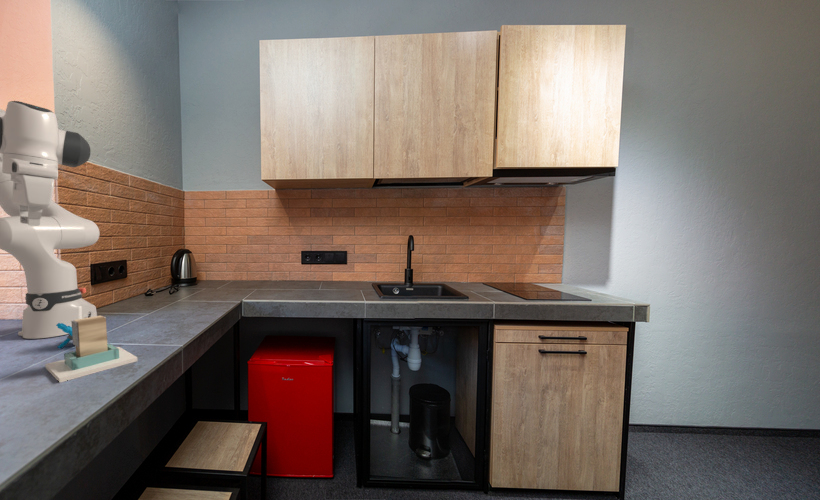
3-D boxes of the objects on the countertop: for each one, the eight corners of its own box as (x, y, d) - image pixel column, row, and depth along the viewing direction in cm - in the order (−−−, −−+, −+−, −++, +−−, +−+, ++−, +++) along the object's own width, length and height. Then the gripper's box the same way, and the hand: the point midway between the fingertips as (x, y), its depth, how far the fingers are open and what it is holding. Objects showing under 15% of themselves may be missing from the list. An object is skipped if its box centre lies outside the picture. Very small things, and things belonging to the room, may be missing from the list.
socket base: (45, 367, 78) (44, 354, 78) (119, 349, 90) (118, 338, 90) (59, 382, 71) (58, 367, 71) (137, 360, 83) (136, 348, 83)
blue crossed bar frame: (95, 341, 92) (58, 322, 88) (75, 359, 89) (36, 340, 85) (97, 336, 100) (64, 319, 96) (79, 353, 97) (43, 336, 93)
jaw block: (73, 362, 79) (70, 320, 78) (103, 355, 84) (100, 315, 83) (78, 366, 77) (75, 323, 76) (108, 358, 82) (105, 317, 81)
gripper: (4, 168, 81) (2, 221, 81) (18, 165, 70) (17, 226, 71) (41, 173, 86) (39, 223, 87) (60, 171, 75) (58, 228, 76)
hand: (29, 224), depth 79 cm, fingers open, 8 cm apart
